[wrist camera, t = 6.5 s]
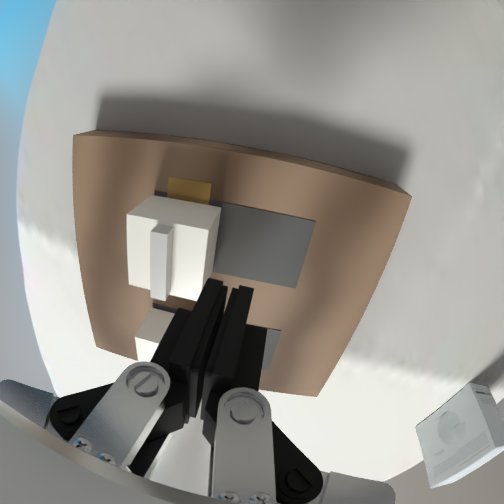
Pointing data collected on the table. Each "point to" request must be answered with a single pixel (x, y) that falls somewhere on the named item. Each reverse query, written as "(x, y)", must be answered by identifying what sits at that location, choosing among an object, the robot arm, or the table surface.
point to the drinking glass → (185, 459)
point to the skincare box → (461, 435)
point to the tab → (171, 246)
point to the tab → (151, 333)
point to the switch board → (240, 242)
